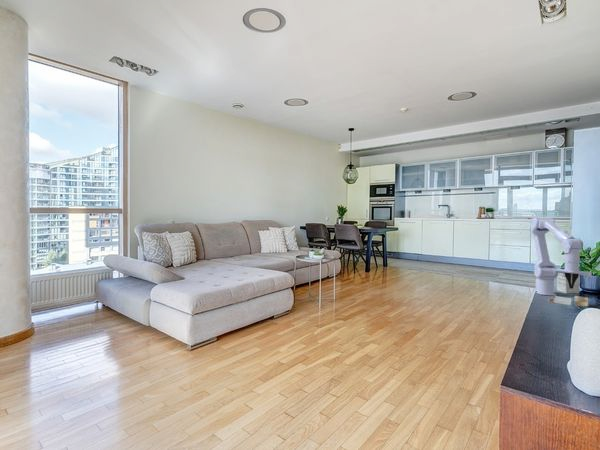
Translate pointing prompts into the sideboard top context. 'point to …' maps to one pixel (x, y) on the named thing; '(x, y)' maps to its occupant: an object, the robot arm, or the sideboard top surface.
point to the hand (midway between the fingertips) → (571, 288)
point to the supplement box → (566, 284)
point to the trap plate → (551, 300)
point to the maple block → (581, 301)
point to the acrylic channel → (563, 300)
